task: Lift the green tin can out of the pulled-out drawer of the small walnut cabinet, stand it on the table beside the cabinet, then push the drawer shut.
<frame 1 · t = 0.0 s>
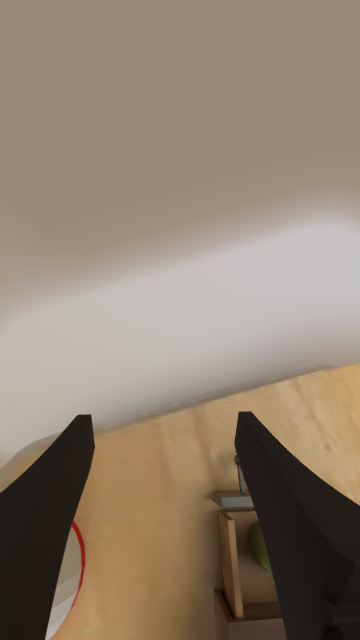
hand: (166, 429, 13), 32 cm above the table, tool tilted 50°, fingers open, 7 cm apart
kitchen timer: (30, 570, 34), on the table
tin can: (265, 542, 35), point 2 cm above the table, touching drawer
drawer: (268, 527, 34), point 4 cm above the table, slide at 9.5 cm, touching tin can
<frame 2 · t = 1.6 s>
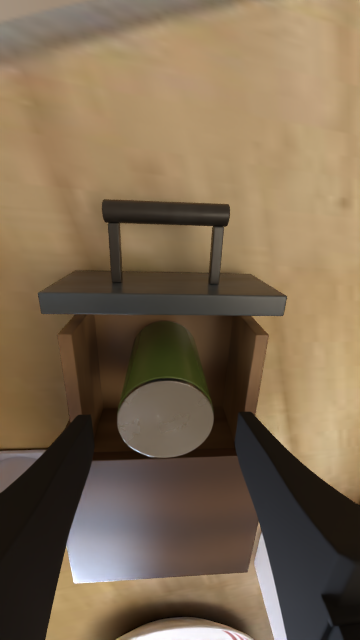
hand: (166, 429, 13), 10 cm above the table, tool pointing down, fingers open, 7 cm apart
milk carton: (282, 542, 34), on the table
tin can: (164, 348, 21), point 2 cm above the table, touching drawer
drawer: (165, 336, 18), point 4 cm above the table, slide at 9.5 cm, touching tin can
cabinet: (163, 440, 26), on the table
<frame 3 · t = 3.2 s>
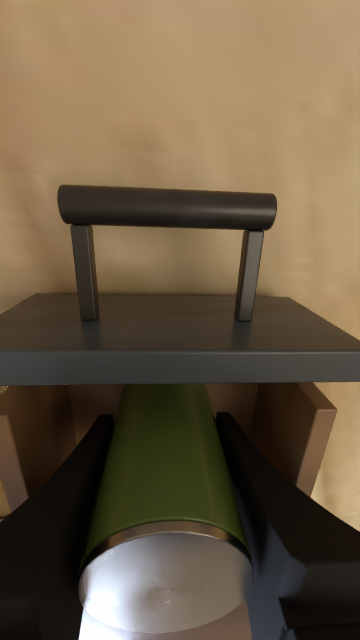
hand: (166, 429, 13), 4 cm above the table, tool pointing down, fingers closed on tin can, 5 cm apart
tin can: (164, 401, 15), point 2 cm above the table, touching drawer, gripper
drawer: (166, 394, 12), point 4 cm above the table, slide at 9.5 cm, touching tin can
cabinet: (163, 504, 21), on the table
when the fingers open (2 cm above the table, at t = 8.8 s): tin can stays where it is, on the table.
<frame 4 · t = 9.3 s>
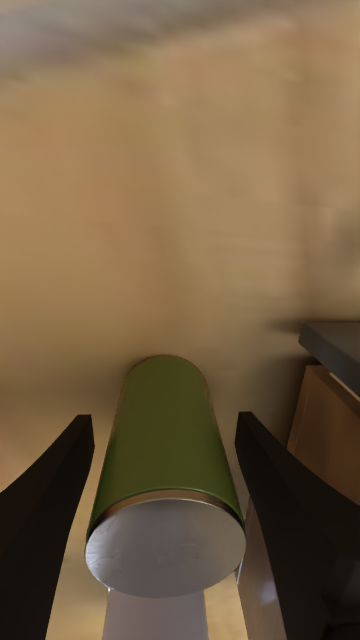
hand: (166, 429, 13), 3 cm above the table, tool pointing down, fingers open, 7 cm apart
tin can: (164, 391, 15), on the table
cabinet: (332, 519, 21), on the table
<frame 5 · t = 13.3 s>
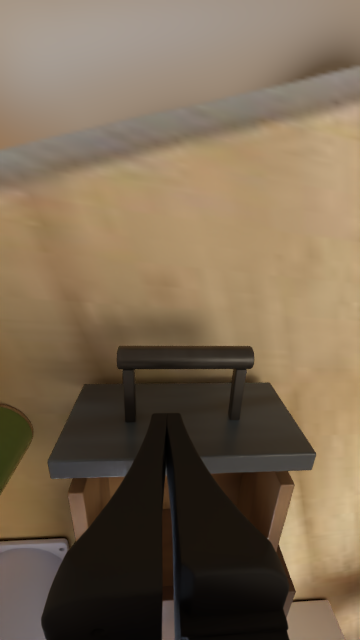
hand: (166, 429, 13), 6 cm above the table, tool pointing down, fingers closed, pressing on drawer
milk carton: (293, 612, 33), on the table
tin can: (0, 429, 20), on the table
drawer: (180, 461, 17), point 4 cm above the table, slide at 9.3 cm, touching gripper
cabinet: (172, 526, 25), on the table
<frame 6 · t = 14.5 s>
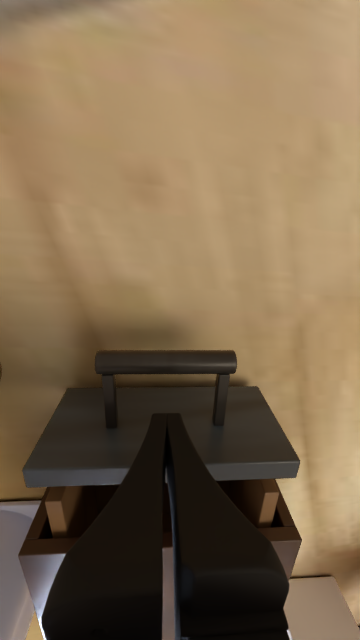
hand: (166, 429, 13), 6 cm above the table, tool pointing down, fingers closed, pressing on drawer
milk carton: (296, 590, 31), on the table
drawer: (164, 467, 17), point 4 cm above the table, slide at 3.5 cm, touching gripper
cabinet: (163, 489, 23), on the table
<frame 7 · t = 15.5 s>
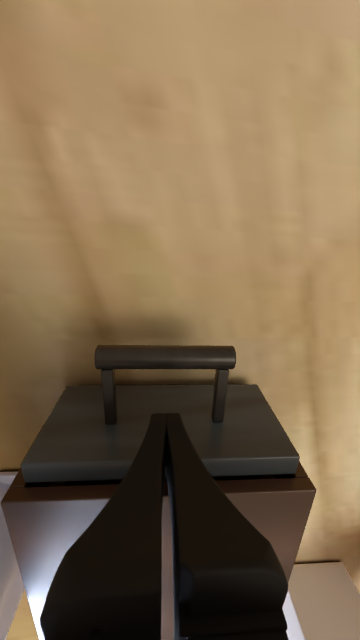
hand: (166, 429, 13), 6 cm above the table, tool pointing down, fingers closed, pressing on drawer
milk carton: (302, 578, 29), on the table
drawer: (163, 465, 16), point 4 cm above the table, slide at 0.0 cm, touching cabinet, gripper
cabinet: (162, 460, 21), on the table
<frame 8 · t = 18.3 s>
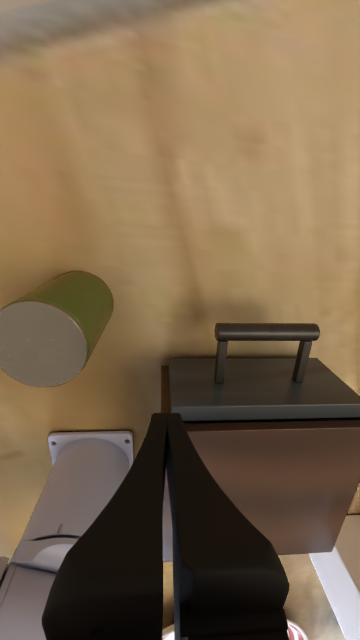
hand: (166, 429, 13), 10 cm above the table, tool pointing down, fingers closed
milk carton: (336, 529, 34), on the table
tin can: (82, 301, 21), on the table
drawer: (249, 418, 21), point 4 cm above the table, slide at 0.0 cm, touching cabinet
dinner plate: (216, 633, 42), on the table
cabinet: (232, 422, 26), on the table
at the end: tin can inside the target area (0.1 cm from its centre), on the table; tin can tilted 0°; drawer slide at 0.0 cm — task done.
